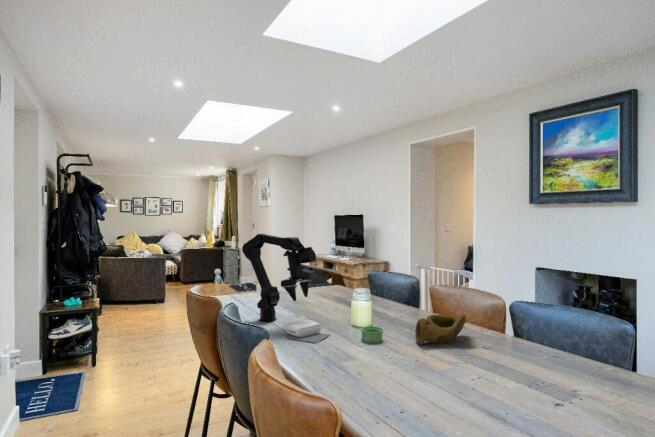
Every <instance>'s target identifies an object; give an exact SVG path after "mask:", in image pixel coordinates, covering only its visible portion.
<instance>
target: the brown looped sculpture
mask: <svg viewBox="0 0 655 437" xmlns="http://www.w3.org/2000/svg"><path fill="white" fill-rule="evenodd" d="M466 321H467V319H466V315H465V314H461V315H460V316H457V317H454V316H450V315H444V314H430V315H428V316H427V317H426V318H424V317H423V318H422V317H421V318H419V319H418V320H417V322H416V325H415V335H414V336H415V342H416V343H417V344H418V345H419V346H422V345H423V344H424V343H425V342H431V343H434V344H437V343H438V344H439V343H441V342H447V343H449V342H450V341H451V339H453V338H456V337H457V336H458V335H459V334H460V333H461V332H462V330H463V328H464V326H465V324H466Z"/></svg>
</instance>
